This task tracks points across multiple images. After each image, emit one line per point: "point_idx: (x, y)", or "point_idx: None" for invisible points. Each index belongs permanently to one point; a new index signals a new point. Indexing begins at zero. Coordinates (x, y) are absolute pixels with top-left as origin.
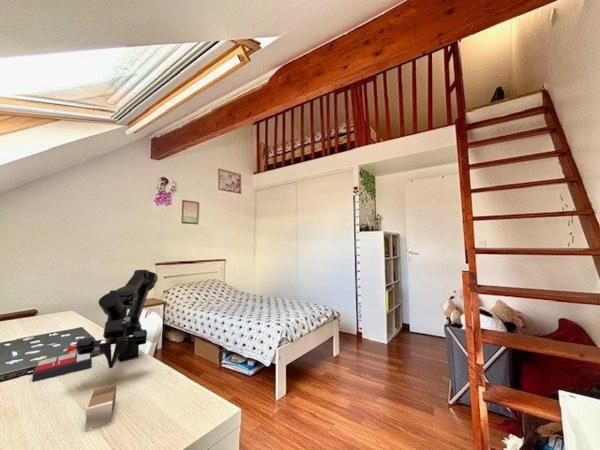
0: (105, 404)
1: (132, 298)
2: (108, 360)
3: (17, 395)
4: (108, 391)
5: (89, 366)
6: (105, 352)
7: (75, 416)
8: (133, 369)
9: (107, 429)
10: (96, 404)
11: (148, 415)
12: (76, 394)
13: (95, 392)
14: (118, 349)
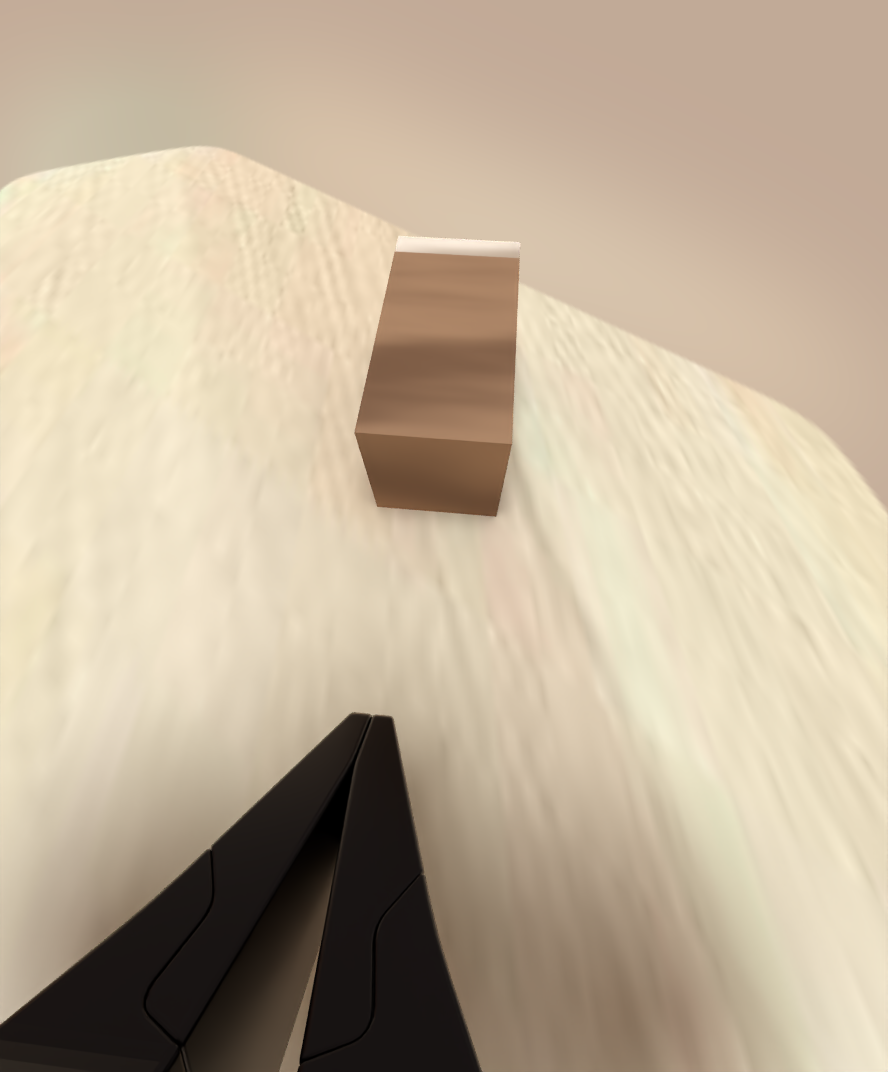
0: (431, 238)
1: None
2: (395, 792)
3: None
4: (413, 357)
5: None
6: (462, 1018)
7: (575, 481)
8: None
9: None
10: (476, 259)
11: (259, 308)
12: (656, 838)
13: (497, 390)
14: (84, 990)
